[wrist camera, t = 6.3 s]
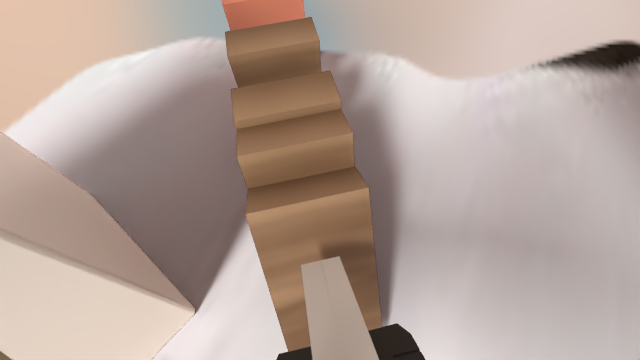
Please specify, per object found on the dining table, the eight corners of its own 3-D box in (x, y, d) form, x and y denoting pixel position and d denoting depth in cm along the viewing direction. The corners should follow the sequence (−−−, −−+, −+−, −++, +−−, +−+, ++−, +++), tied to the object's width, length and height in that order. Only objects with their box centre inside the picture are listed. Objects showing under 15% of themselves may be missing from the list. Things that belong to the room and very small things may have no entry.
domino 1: (313, 105, 28) (302, -9, 20) (257, 116, 28) (222, 4, 19) (308, 88, 29) (296, -27, 21) (255, 98, 29) (220, -15, 20)
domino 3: (340, 202, 23) (341, 100, 15) (273, 217, 23) (233, 121, 14) (333, 178, 24) (330, 70, 16) (269, 191, 24) (230, 89, 15)
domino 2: (325, 149, 26) (319, 39, 17) (264, 162, 25) (227, 56, 17) (319, 129, 27) (311, 16, 18) (261, 140, 26) (225, 31, 18)
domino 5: (383, 346, 17) (368, 187, 13) (293, 369, 17) (245, 214, 12) (371, 314, 19) (354, 166, 15) (290, 334, 19) (248, 188, 14)
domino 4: (359, 265, 20) (353, 132, 13) (281, 283, 20) (236, 156, 13) (350, 238, 22) (340, 108, 15) (278, 254, 21) (236, 129, 15)
